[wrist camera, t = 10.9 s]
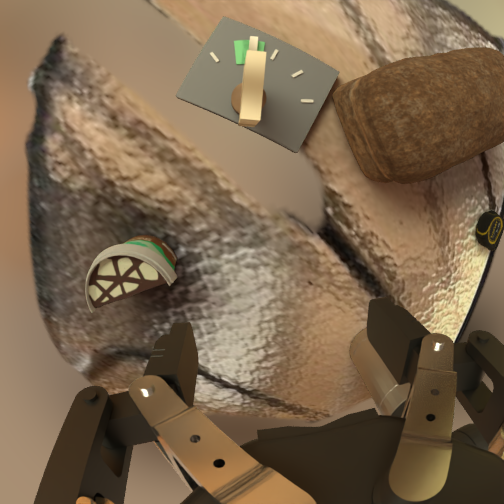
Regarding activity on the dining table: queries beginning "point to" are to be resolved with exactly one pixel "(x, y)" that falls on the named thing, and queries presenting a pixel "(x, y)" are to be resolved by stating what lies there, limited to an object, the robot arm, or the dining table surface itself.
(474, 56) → the bread
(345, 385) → the dining table surface
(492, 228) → the tape measure
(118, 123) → the dining table surface
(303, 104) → the gauge plate
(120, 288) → the food container
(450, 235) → the dining table surface
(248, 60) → the dial needle
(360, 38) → the dining table surface
